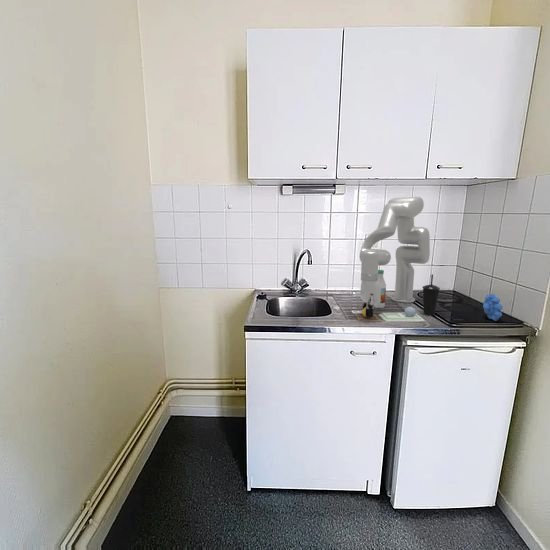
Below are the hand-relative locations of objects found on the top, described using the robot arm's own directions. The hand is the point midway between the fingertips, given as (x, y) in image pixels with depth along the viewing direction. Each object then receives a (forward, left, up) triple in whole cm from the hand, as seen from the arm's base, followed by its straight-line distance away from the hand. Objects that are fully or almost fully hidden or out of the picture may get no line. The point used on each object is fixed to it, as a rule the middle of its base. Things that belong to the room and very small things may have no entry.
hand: (367, 314), depth 145 cm
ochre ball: (0, 0, +1) cm, 1 cm away
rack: (0, +16, -2) cm, 16 cm away
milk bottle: (-20, +11, -2) cm, 23 cm away
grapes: (+2, +56, -2) cm, 56 cm away
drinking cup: (-6, +32, -2) cm, 33 cm away
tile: (-10, -2, -2) cm, 10 cm away
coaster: (0, 0, -2) cm, 2 cm away
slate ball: (0, +20, +1) cm, 20 cm away
